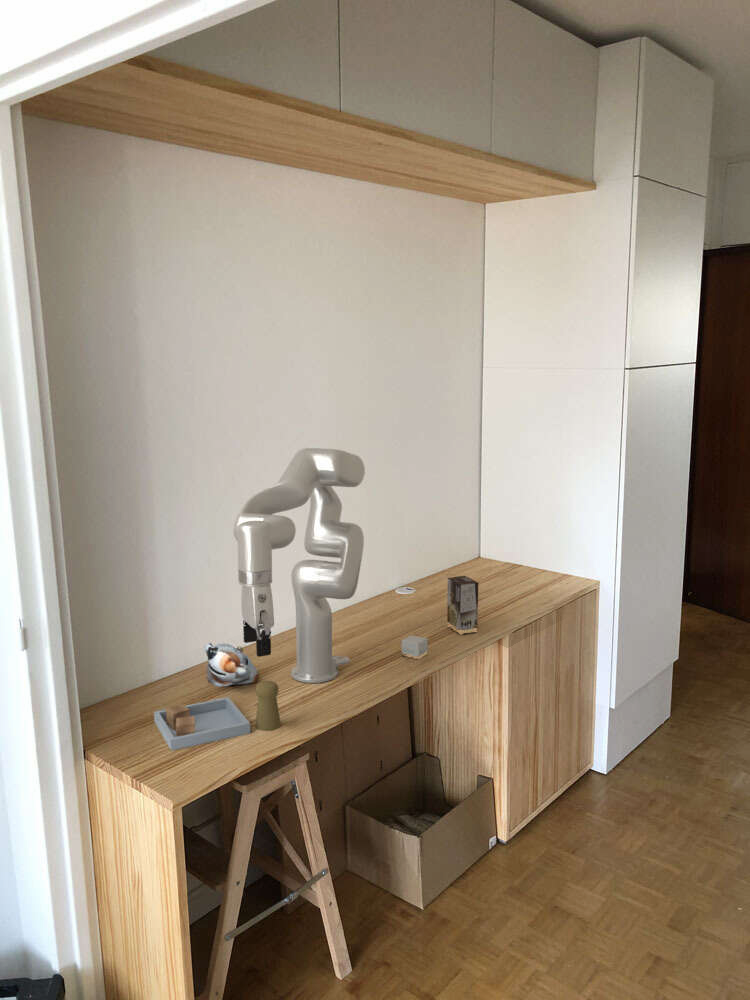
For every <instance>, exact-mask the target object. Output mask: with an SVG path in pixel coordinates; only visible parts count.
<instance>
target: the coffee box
mask: <svg viewBox="0 0 750 1000" xmlns="http://www.w3.org/2000/svg"><path fill="white" fill-rule="evenodd" d="M446 603H447V608H446V611H447V613H446V614H447V615H446V616H447V618H446V619H447V620H446V621H447V622H449V623H450V624H451V625H453V626H454V627H456V628H457V629H459V630H468V629H473V628H477V629H478V617H479V616H478V615H479V614H478V612H479V611H478V609H479V608H478V607H479V581H476V580H474V579H473V578H470V577H469V576H466V575H460V576H453V577H447V602H446Z"/></svg>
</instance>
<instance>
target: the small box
mask: <svg viewBox="0 0 750 1000" xmlns="http://www.w3.org/2000/svg"><path fill="white" fill-rule="evenodd" d="M428 639H429V638H425V637H420V636H416V635H410V636H407V637H405V638H403V639H402V640H401V653H403V654H407V655H412V656H415V657H419V656H420V655H422V654H424V653H425V652H426V651H429V650H428V647H429V645H428V644H429V640H428Z"/></svg>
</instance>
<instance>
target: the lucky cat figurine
mask: <svg viewBox="0 0 750 1000" xmlns="http://www.w3.org/2000/svg"><path fill="white" fill-rule="evenodd" d="M204 648H205V649H204V650H205V653H206V657H207V666H206V676H207V677H206V678H207V682H208V683H209V684H211V685H213V686H216V687H218V688H221V687H228V686H232V685H233V686H234V685H244V684H254V683H256V681H257V678H258V675H259V674H260V673H259V670H258V669H257V667H255V665H254V664H253V662H252V661H251V658H249V656H248V655H246V654H245V653H243V652H244V649H243V648H242V646H241V645H239V646H237V647H234V646H233V645H232V644H229V643H219V644H216V645H213V644H212V643H211V642H208V643H206V644H205V645H204Z"/></svg>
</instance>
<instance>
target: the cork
mask: <svg viewBox="0 0 750 1000" xmlns="http://www.w3.org/2000/svg"><path fill="white" fill-rule="evenodd" d="M278 685H279V684H277V683H276V682H275V681H273V680H264V681H263V680H262V681H261V682H259V683H257V685H256V686H255V694H256V696H257V698H258V699H257V707H256V709H257V710H256V717H255V725H254V726H255V727H254V728H255V729H257V730H259V731H261V732H271V731H276V730H277V729H279V728H281V725H282V724H281V718H280V713H279V712H280V711H279V705H278V700H277V696H278V694H279V686H278Z"/></svg>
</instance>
